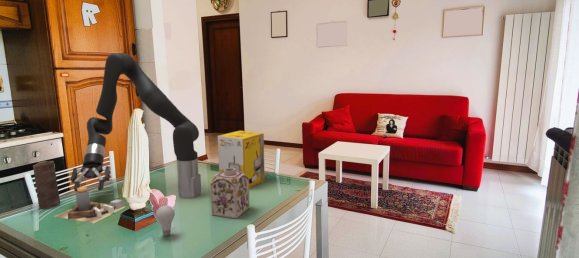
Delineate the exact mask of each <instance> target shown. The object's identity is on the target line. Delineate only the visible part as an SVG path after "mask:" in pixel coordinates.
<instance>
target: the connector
mask: <svg viewBox="0 0 579 258" xmlns="http://www.w3.org/2000/svg"><path fill="white" fill-rule="evenodd" d="M75 198H76V199H75V200H76V205H77V207H78V211H89V210H91V206H90V201H91V200H90V199H91V197H90V191H89V189H88V188H87V186H80V187H79V188H77V192H76V191H75Z"/></svg>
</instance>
